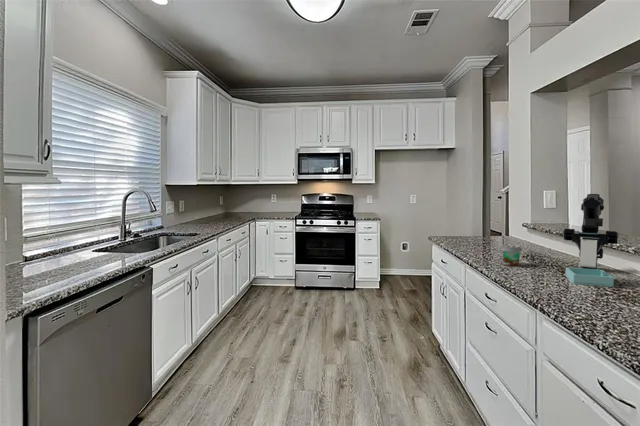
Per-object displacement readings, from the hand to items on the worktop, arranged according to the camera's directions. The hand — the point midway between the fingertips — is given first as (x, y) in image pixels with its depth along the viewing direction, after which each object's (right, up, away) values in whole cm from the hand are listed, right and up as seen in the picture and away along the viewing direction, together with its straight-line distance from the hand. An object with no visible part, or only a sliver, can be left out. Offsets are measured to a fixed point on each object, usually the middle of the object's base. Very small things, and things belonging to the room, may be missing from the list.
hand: (588, 251), depth 150 cm
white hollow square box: (+1, -6, +2) cm, 7 cm away
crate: (+1, -13, +2) cm, 13 cm away
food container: (-14, -11, +33) cm, 38 cm away
